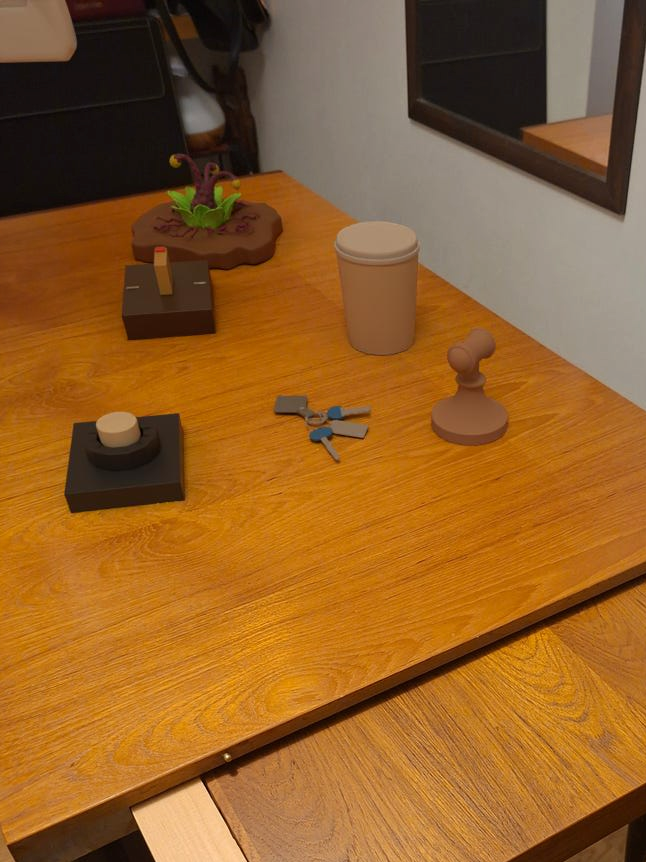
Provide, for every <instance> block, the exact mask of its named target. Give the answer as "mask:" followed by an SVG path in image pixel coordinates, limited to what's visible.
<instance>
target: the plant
mask: <svg viewBox="0 0 646 862" xmlns="http://www.w3.org/2000/svg"><path fill="white" fill-rule="evenodd" d="M192 159H193V158H191V156H189V155H187V154H186V153H179V152H178V153H176V154H175V153H174V154H172V155H171V156H170V158H169V164H170V166H171V167H172V168H175V169H178V168H179V167H181V165H182V162H183V160H184V161H186V163H187V164H188V165H189V167H190V169H191V173H192V174H193V181H194V188H195V189H194V188H193V187H191V186H188V185H187V186H185V195H184V194H183V193H181V192H179V191H173V190H168V191H167V195H168V196H169V197H170V198H172V200H170V201H167V202H163V203H159V204H157V205H156V206H154V207H152V208H151V209H149V210H147V211H146V212H144V213H143V214H141V215H140V216H139V217H138V219H136V220H135V222H134V223H133V224H132V225H131V227H130V229H131V234H132V238H133V239H132V241H131V249H132V254H133V256H134V257H133V258H134V260H138V261H142V262H145V263H149V264H154V253H155V247H165V248H167V252H168V256H169V261H170V263H171V262H187V261H202V260H208V264H209V270H210V269H220V270H230V269H233V268H235V267H237V266H239V265H243V264H247V265H257V264H258V265H259V264H260V263H263V262H265V261H267V260H269V259H271V257H272V256H273V255H274V252H275V241H276V239H277V237H278V235H280V234H281V233H282V232H283V221H282V216H281V215H280V214H279V213H278V211H277V209H275V208H274V207H273V206H270V205H268V204H267V203H266V202H251V201H246V200H245V199H239V198H240V197H241V196H242V192H235V193H233V194H231V195H229V196H228V197H226V196H225V198H224V199H223V191H224V190H223V187H222V186H221V185H219V186H217V187H216V184H218V180H219V179H220V178H222V177H225V176H227V177H229V178H230V185H231V187H232V188H233V189H234V190H236V191H239V190H240V189H241V186H242V183H241V180H240V178H238V177H237V176H236V175H235V174H233V173H231V172H229V171H227V170H221V171H220V169H219V166H218V165H217V163H215V162H210V161H208V162H207V163H206V165H205V166H204V170H203V177H202V175H201V171H200V170H199V167H198V166H197V164H196V163H195V161H194V160H192ZM210 174H211V175H212V176H210Z"/></svg>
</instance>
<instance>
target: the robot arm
mask: <svg viewBox="0 0 646 862" xmlns="http://www.w3.org/2000/svg"><path fill="white" fill-rule="evenodd" d="M77 46H78V40H77V35H76V31H75V28H74V23H73V21H72V17H71V14H70V11H69V7H68V4H67V2H66V0H0V63H3V64H4V63H44V62H45V63H46V62H48V63H49V62H68V61H70V60H71V59H72V57H73V55H74V54H75V52H76V50H77Z"/></svg>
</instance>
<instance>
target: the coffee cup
mask: <svg viewBox="0 0 646 862" xmlns="http://www.w3.org/2000/svg"><path fill="white" fill-rule="evenodd" d="M333 245H334V251H335V253H336V260H337V267H338V268H337V269H338V276H339V281H340V289H341V295H342V302H343V311H344V316H345V323H346V330H347V335H348V341H349V344H350V345H351V346H352V348H353V349H355V350H357V351H359V352H361V353H364V354H368V355H374V356H391V355H394V354H399V353H402V352H404V351H406V350H408V349H410V347H412V345H413V344H414V341H415V335H416V333H415V331H416V318H417V317H416V314H417V297H418V296H417V294H418V274H419V273H418V272H419V252H420V247H421V243H420V240H419V238H418V236H417V233H416V232H415V231H414V230H413V229H411V228H410V227H408V226H405V225H403V224H400V223H395V222H392V221H391V222H390V221H376V220H375V221H374V220H373V221H364V222H358V223H357V222H356V223H353V224H350V225H348V226H345V227H344V228H342V229H340V230H339V231H338V233H337V235H336V238H335V240H334V243H333Z"/></svg>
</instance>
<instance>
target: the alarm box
mask: <svg viewBox="0 0 646 862" xmlns="http://www.w3.org/2000/svg"><path fill="white" fill-rule="evenodd" d="M134 416H135V415H134ZM135 417H136V418H137V422H138V425H139V429H140V433H141V437H140V439H139V440H138V441H137V442H135V443H133V444H130V445H128V446H124V447H114V448H112V447H107V446H104V445H103V444H102V443H101V440H100V437H99V434H98V431H97V428H96V422H97V420H91V421H81V422H74V423H73V425H72V433H71V439H70V447H69V455H68V463H67V471H66V477H65V486H64V492H63V494H64V498H65V501H66V503H67V506H68V510H69V512H70V514H77V513H88V512H96V511H105V510H113V509H123V508H131V507H132V508H133V507H140V506H149V505H157V503H159V504H167V503H166V502H168V503H176V502H175V501H177V502H184V501H186V494H185V493H186V492H185V491H186V490H185V489H186V488H185V449H184V447H185V445H184V428H183V424H182V420H181V416H180V413H179V412H176V413H165V414H164V413H163V414H154V415H144V416H135Z"/></svg>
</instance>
